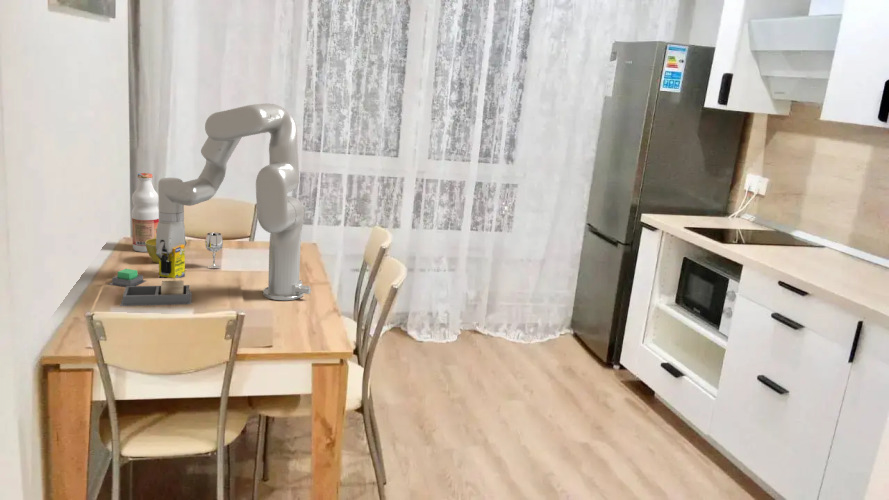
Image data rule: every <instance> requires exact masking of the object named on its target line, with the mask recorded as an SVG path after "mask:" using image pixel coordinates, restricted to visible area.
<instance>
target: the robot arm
mask: <svg viewBox="0 0 889 500" xmlns="http://www.w3.org/2000/svg"><path fill="white" fill-rule="evenodd" d="M204 130H205V133H206V135H207V139H206V140H205V142H204V144H203V146H201V150H200V153H201V155H202V157H203V158H204V159H205V160H206V161H205V165H204V168H203V169H202V171H201V173H200V174H199V176H198V177H197V178H195V179H191V180H188V181H183V180H182V179H181V178H179V177H163V178H161V179H159V180H158V184H157V185H158V186H157V189H158V190H157V193H158V201H159V203H158V208H159V222H158V226H157V234H156V251H157V252H156V255H157V256H158V257H159V259H160V261H161V272H162V273H167V274H170V273H171V262H170V254H171V253H172V251H173V248H175V247H178V246H180V245H185V247H186V246H187V241H186V229H185V210H184V209H185V206H187V207H191V206H194V205H198V204H200V203H203V202H206V201H209V200H211V199H212V198H213V197H214V195H216V193H217V191H219V189H220V187H221V185H222V183H223V181H224V179H225V178H226V172H227V163H228V162H229V160H230V158H231V156H232V155H233V153H234V152H235V150H236V148H237V146H238V145H239V143H240V141H241V139H242V138H244V137H249V136H254V135H260V134H266V133H268V134H270V140H269V143H268V155H269V156H268V157H269V163H268V164H267V165H264V166H263V167H262V168H261V169H260V170H259V171H258V172H257V175H256V179H255V196H256V213H257V214H256V215H257V221H258V223H259V226H260V227H261V228H262V229H263V230H264V231H265V232H266V233H269V247H268V248H269V249H268V250H269V251H268V252H269V253H268V282H267V284H268V285H267V287H264V288H263V292H262V294H263V296H264V298H268V299H271V300H275V301H293V300H294V301H295V300H298V299H300V298H302V297H303V296H304V295H305V294H306V295H310V294H311V291H312V289H311V286H310V285H304V284H303V280H300V271H301V270H300V268H301V267H300V266H301V248H302V247H301V246H302V245H301V242H302V230H303V225H304V219H305V211H304V210H305V209H304V206H303V203H302V202H301V201H300V200H299V199H298V198H296V197H294V196H290V195H288V193H290V192H292V191H294V190H296V188H297V187H298V185H299V184H300V169H299V168H300V167H299V153H298V129H297V124H296V121H295V119H294V117H293V115H292V114H291V113H290V112H289V111H288V110H287V109H285V108H284V107H282V106H280V105H278V104H274V103H258V104H257V103H255V104H247V105H245V106H244V105H243V106H240V107H236V108H230V109H226V110H222V111H216V112H214V113H212V114H211V115H209V116H208V118H207V119H206V121H205V124H204ZM164 250H167V252H164ZM164 254H167V257H166V256H165V255H164Z"/></svg>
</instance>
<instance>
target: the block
mask: <svg viewBox="0 0 889 500" xmlns="http://www.w3.org/2000/svg"><path fill="white" fill-rule="evenodd" d="M184 283H185V282H184V280H161V285H160V286H161V295H174V294H184V285H185V284H184Z"/></svg>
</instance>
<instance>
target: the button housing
mask: <svg viewBox="0 0 889 500" xmlns="http://www.w3.org/2000/svg"><path fill="white" fill-rule="evenodd" d="M137 275H138V276H137V277H134V278H132V279H124V278H118V275H116V276H113V277H111V278H112V280H111V281H112V282H110V283H108V284H107V285H109V286H116V287H122V288H126V286H140V285H141V284H143V283H146V282H147V280H146V279H145V280H144V276H143V274H139V273H137Z"/></svg>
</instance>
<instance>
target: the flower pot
mask: <svg viewBox="0 0 889 500" xmlns="http://www.w3.org/2000/svg"><path fill="white" fill-rule="evenodd" d="M145 244H146V248H147V251H148V252H147V254H148V255H149V257H150V259H151V260H152V261H153V262H154V263H155V264H159V257H158V256H157V255H156V252H157V251H156V238H155V239H149V240H147V241H145Z"/></svg>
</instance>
